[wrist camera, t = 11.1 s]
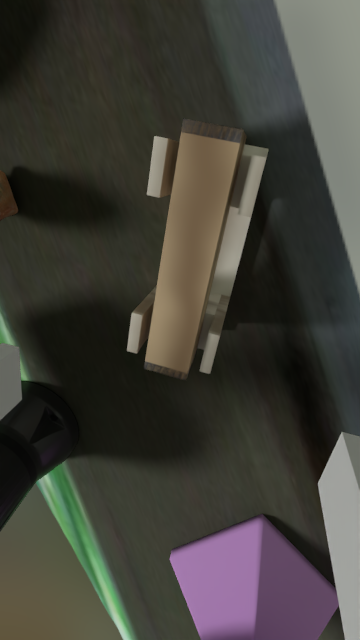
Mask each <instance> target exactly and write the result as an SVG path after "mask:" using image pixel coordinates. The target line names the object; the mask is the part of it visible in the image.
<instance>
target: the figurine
mask: <svg viewBox="0 0 360 640" xmlns="http://www.w3.org/2000/svg"><path fill="white" fill-rule="evenodd" d="M17 212H18V208H17V205H16V202H15V200H14V197H13V194H12V191H11V188H10V185H9V183H8V180H7V177H6V175H5V173H4V172H2V171H0V221H1V220H2V219H4V218H5V217H8V216H12V215H15V214H16V213H17Z"/></svg>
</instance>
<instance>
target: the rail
mask: <svg viewBox="0 0 360 640" xmlns="http://www.w3.org/2000/svg"><path fill="white" fill-rule="evenodd" d="M246 137H247V136H246V134H245V132H244V130H243V129H237V128H232V127H227V126H221V125H216V124H210V123H205V122H200V121H194V120H189V119H184V118H183V124H182V131H181V137H180V143H179V150H178V156H177V162H176V168H175V175H174V181H173V187H172V194H171V200H170V206H169V213H168V219H167V225H166V232H165V238H164V244H163V251H162V257H161V263H160V269H159V276H158V282H157V288H156V295H155V301H154V307H153V314H152V320H151V326H150V333H149V339H148V345H147V352H146V358H145V364H144V369H147V370H151V371H154V372H158V373H161V374H165V375H168V376H172V377H175V378H179V379H182V380H187V377H188V374H189V371H190V369H191V366H192V363H193V361H194V358H195V355H196V352H197V347H198V343H199V339H200V334H201V330H202V326H203V322H204V317H205V313H206V309H207V304H208V300H209V296H210V292H211V287H212V283H213V279H214V274H215V270H216V266H217V261H218V257H219V253H220V249H221V244H222V240H223V236H224V231H225V227H226V223H227V218H228V214H229V210H230V206H231V201H232V197H233V193H234V188H235V184H236V180H237V175H238V171H239V167H240V163H241V158H242V154H243V150H244V145H245V141H246Z"/></svg>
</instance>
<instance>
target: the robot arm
mask: <svg viewBox="0 0 360 640" xmlns="http://www.w3.org/2000/svg"><path fill="white" fill-rule="evenodd" d="M78 438H79V429H78V424H77V421H76V419H75V417H74V415H73V413H72V411H71V410H70V408H69V407H68V406H67V404H66V403H65V402H64V401H63V400H62V399H61V398H60V397H58V396H57V395H56V394H55V393H53V392H52V391H50V390H48V389H47V388H45V387H42V386H40V385H37V384H34V383H30V382H23V381H21V373H20V356H19V347H16V346H13V345H9V344H5V343H2V344H0V531H1V530H2V529H3V527H4V525H6V523H7V522H8V520H9V519H10V517H11V516H12V515H13V513H14V512H15V511H16V509H17V508H18V506H19V505H20V504H21V502H22V501H23V499H24V498H25V497H26V495H27V494H28V492H29V491H30V490H31V488H32V487H33V485H34V484H35V483H36V482H37V481H38V480H39V479H41V478H42V477H43V476H45V475H46V474H47V473H49V472H50V471H51V470H53V469H54V468H55V467H57V466H58V465H59V464H61V463H62V462H64V461H65V460H66V459H67V458H68V456H69V455H70V454H71V452H72V451H73V449H74V448H75V446H76V444H77V442H78ZM318 488H319V493H320V499H321V505H322V510H323V516H324V522H325V528H326V533H327V539H328V545H329V550H330V556H331V562H332V568H333V573H334V579H335V585H336V591H337V596H338V602H339V608H340V613H341V619H342V625H343V631H344V636H345V640H360V436H356V435H352V434H348V433H344V432H342V433H341V435H340V437H339V439H338V441H337V444H336V446H335V448H334V450H333V452H332V454H331V456H330V459H329V461H328V463H327V465H326V467H325V469H324V471H323V474H322V476H321V478H320V480H319V482H318Z"/></svg>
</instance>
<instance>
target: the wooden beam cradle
mask: <svg viewBox="0 0 360 640" xmlns="http://www.w3.org/2000/svg"><path fill="white" fill-rule="evenodd" d="M179 143H180V142H177V141H174V140H171V139H167V138H162V137H157V136H154V143H153V151H152V159H151V167H150V174H149V182H148V190H147V195H150V196H155V197H159V198H160V197H163V196H167V195H170V194H172V187H173V181H174V175H175V168H176V162H177V156H178V150H179ZM268 151H269V149H267V148H261V147H256V146H251V145H246V144H245V145H244V150H243V154H242V158H241V163H240V167H239V171H238V175H237V180H236V184H235V188H234V193H233V197H232V201H231V206H230V210H229V214H228V218H227V223H226V227H225V231H224V236H223V240H222V244H221V249H220V253H219V257H218V261H217V266H216V270H215V274H214V279H213V283H212V287H211V292H210V296H209V300H208V304H207V309H206V313H205V317H204V322H203V326H202V330H201V334H200V339H199V343H198V347H197V348H199V349H203V350H204V354H203V358H202V362H201V366H200V370H199V371H201V372H204V373H208V374H210V372H211V368H212V364H213V361H214V357H215V353H216V349H217V346H218V342H219V338H220V334H221V330H222V327H223V323H224V319H225V315H226V311H227V308H228V304H229V300H230V296H231V292H232V288H233V285H234V281H235V277H236V273H237V269H238V265H239V262H240V258H241V254H242V250H243V246H244V242H245V239H246V235H247V231H248V227H249V223H250V219H251V216H252V212H253V208H254V204H255V200H256V196H257V193H258V189H259V185H260V181H261V177H262V173H263V170H264V166H265V162H266V158H267V154H268ZM156 288H157V286H156V287H155V288H154V289H153V290H152V291H151V292H150V293H149V294H148V295H147V297H146V298H145V299H144V300H143V301H142V302H141V303H140V304H139V305H138V306H137V307H136V309H135V310H134V311H133V312H132V315H131V322H130V330H129V338H128V346H127V351H129V352H133V353H136V354H137V353H138V351H139V350H140V349H141V347H142V346H143V344H144V343H145V341H146V340H147V338H148V337H149V333H150V326H151V320H152V314H153V307H154V301H155V295H156Z"/></svg>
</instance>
